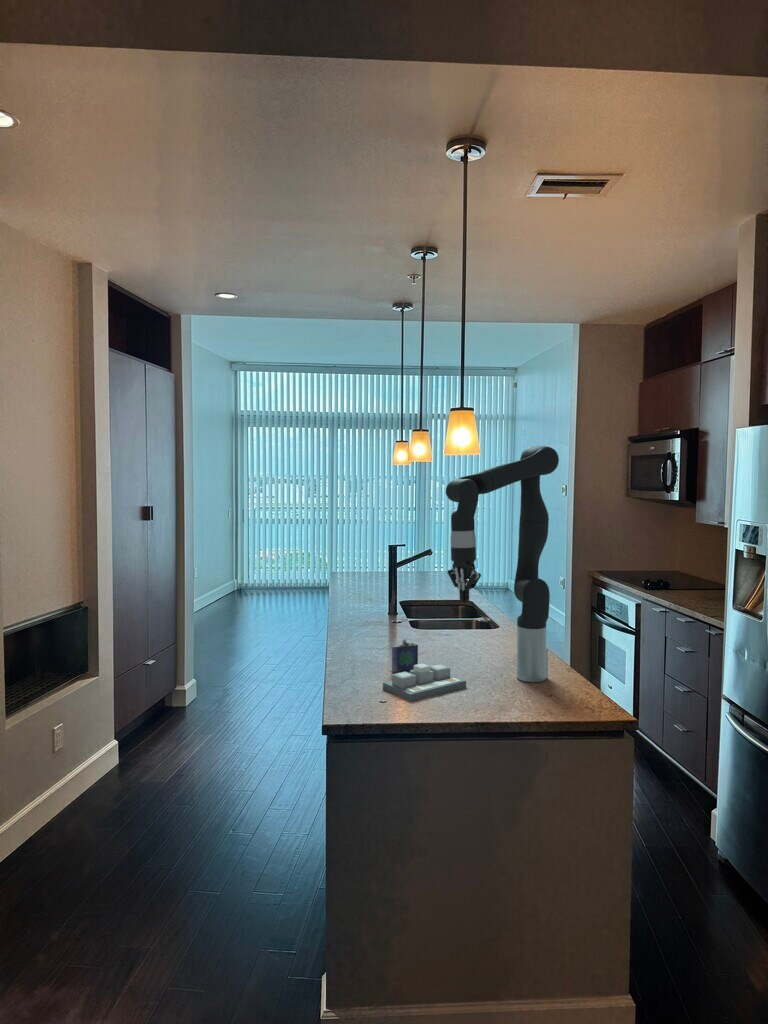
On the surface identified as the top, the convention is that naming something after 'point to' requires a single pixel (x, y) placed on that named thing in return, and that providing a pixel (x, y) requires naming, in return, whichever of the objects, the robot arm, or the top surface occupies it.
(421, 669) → the button middle
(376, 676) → the top surface
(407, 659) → the flask
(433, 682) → the board
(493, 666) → the top surface
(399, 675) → the button
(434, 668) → the button
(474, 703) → the top surface
